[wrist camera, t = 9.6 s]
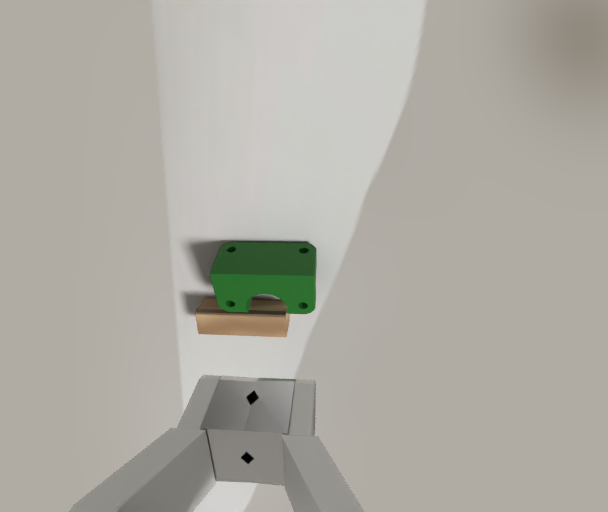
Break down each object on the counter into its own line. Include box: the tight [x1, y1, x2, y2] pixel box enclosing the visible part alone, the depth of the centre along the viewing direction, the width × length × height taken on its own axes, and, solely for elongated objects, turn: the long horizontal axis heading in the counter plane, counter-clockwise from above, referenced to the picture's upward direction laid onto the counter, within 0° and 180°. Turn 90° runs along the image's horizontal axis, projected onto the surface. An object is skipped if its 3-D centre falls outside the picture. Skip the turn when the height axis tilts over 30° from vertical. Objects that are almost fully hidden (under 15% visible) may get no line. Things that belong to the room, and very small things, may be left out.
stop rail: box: [195, 298, 290, 337], centre depth 44 cm, size 3×11×4 cm, turn 90°
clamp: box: [210, 242, 316, 314], centre depth 40 cm, size 12×6×9 cm, turn 84°
